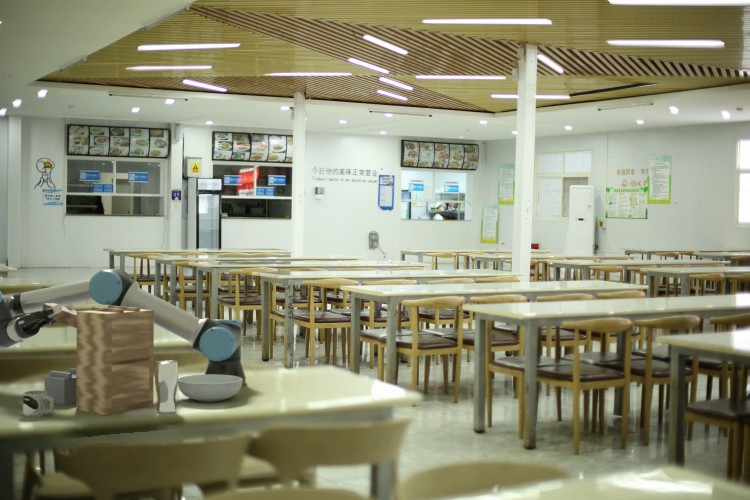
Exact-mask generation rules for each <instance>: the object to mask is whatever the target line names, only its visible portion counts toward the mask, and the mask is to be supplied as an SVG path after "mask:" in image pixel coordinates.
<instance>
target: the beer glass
mask: <svg viewBox="0 0 750 500" xmlns="http://www.w3.org/2000/svg"><path fill="white" fill-rule="evenodd" d="M154 363H155V364H154V365H155V367H154V385H155V390H156V396H157V399H156V400H157V404H156V409H155V412H156V413H159V414H170V413H176V412H177V404H176V395H177V391H178V390H177V388H178V379H179V366H178V365H179V364H178V361H177V360H169V359H167V360H166V359H165V360H158V361H155V362H154Z"/></svg>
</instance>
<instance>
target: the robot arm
mask: <svg viewBox="0 0 750 500" xmlns="http://www.w3.org/2000/svg"><path fill="white" fill-rule="evenodd" d="M92 301H94V302H96V303H97V304H98V305H102V306H107V307H108V306H120V307H133V308H140V309H145V310H154V325H156V326H158V327H160V328H161V329H164V330H166V331H167V332H169V333H172V334H174V335H176V336H178V337H180V339H181V338H182V339H183V340H186V341H187V342H189V344H190V347H191V348H192V349H194V350H195V351H197V352H200V353H201V354H202V355H203V356H204V357H205V358H206V359H207V365H206V368H205V371H204V374H203V375H206V374H216V375H232V376H237V377H241V378H242V379H243V382H242V386H243V385H245V384H246V383H247V382H246V379H247V378H246V374H245V370H244V368H243V364H242V323H241V321H240V320H237V319H211V318H210V317H204V318H200V317H197V316H196V315H193V314H192V313H189V312H188V311H186V310H184V309H182V308H180V307H178V306H176V305H174V304H172V303H170V302H168V301H166V300H164V299H162V298H160V297H158V296H157V295H154V294H152V293H150V292H149V291H146V290H145V289H143V288H140V286H139V282H138V281H136V280H135V279H132V277H131V276H130V275H129V274H128V273H127V272H126V271H125V270H123V269H120V268H109V269H107V268H106V269H105V268H104V269H102V270H99V271H98V272H96V273H95V274H93V276H91V278H90V279H85V280H80V281H74V282H70V283H69V282H68V283H64V284H60V285H54V286H49V287H45V288H41V289H40V288H39V289H35V290H28V291H25V292H19V293H15V294H8V295H3V293H2V291H1V290H0V350H5V349H7V348H10V347H13V346H14V345H16V344H18V343H24V341H25V340H27V339H29V338H31V337H34V336H36V335H37V334H38V333H39V332H40V329H41V328H44V327H45V326H47V325H51V326H52V325H55V324H56V323H58V321H56V320H53V319H50V318H51V317H53V316H55V315H57V314H59V313H61V312H62V307H61V306H64V307H67V308H70V309H72V310H75V305H76V304H80V303H87V302H92ZM44 303H56V304H58V305H56V306H54V307H51V308H49V309H47V311H46V310H43V304H44ZM20 315H22V316H20ZM15 316H20V317H17V318H15V319H14V317H15ZM47 316H48V317H47Z"/></svg>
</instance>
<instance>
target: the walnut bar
mask: <svg viewBox="0 0 750 500" xmlns="http://www.w3.org/2000/svg"><path fill="white" fill-rule="evenodd" d="M56 305H58V304H56V303H44V304H43V310H46V311H47V309H49V308H51V307H54V306H56ZM61 307H62V312H61V313H59V314H57V315H55V316H53V317H51V318H50V319H53V320H56V321H58V322H59V323H61V324H64V325H67V326H70V327H73V328H75V329H77V310H76V309H74V310H72V309H70V308H67V307H64V306H61ZM43 310H42V311H43ZM47 317H48V316H47ZM58 322H57V323H58Z"/></svg>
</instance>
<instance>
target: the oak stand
mask: <svg viewBox="0 0 750 500" xmlns="http://www.w3.org/2000/svg"><path fill="white" fill-rule="evenodd" d="M76 311H77V310H76ZM154 328H155V324H154V310H145V309H140V308H133V307H120V306H108V305H107V307H101V306H100V307H99V306H92V307H91V309H89V310H78V311H77V328H76V355H75V356H76V359H75V360H76V403H75V404H76V406H75V407H76V408H75V410H76V411H79V412H80V411H81V412H86V413H92V414H96V415H101V416H102V415H103V416H111V415H115V414H120V413H125V412H131V411H135V410H140V409H146V408H150V407H154V381H155V367H154V365H155V364H154V363H155V362H154V354H155V353H154V350H155V348H154V347H155V346H154V345H155V340H154V338H155V337H154V336H155V329H154Z"/></svg>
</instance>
